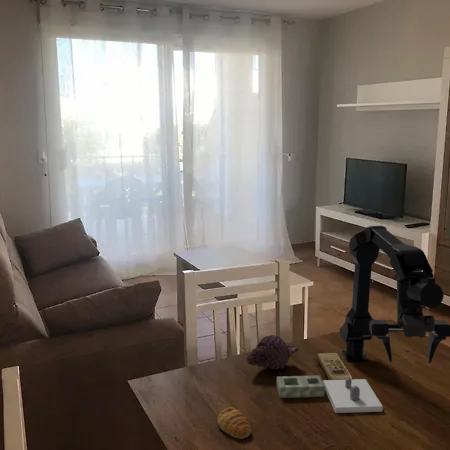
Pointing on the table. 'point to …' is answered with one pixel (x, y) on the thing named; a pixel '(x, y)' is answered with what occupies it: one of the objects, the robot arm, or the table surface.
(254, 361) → the pine cone
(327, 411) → the table surface
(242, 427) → the pastry
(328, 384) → the post board
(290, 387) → the bar
